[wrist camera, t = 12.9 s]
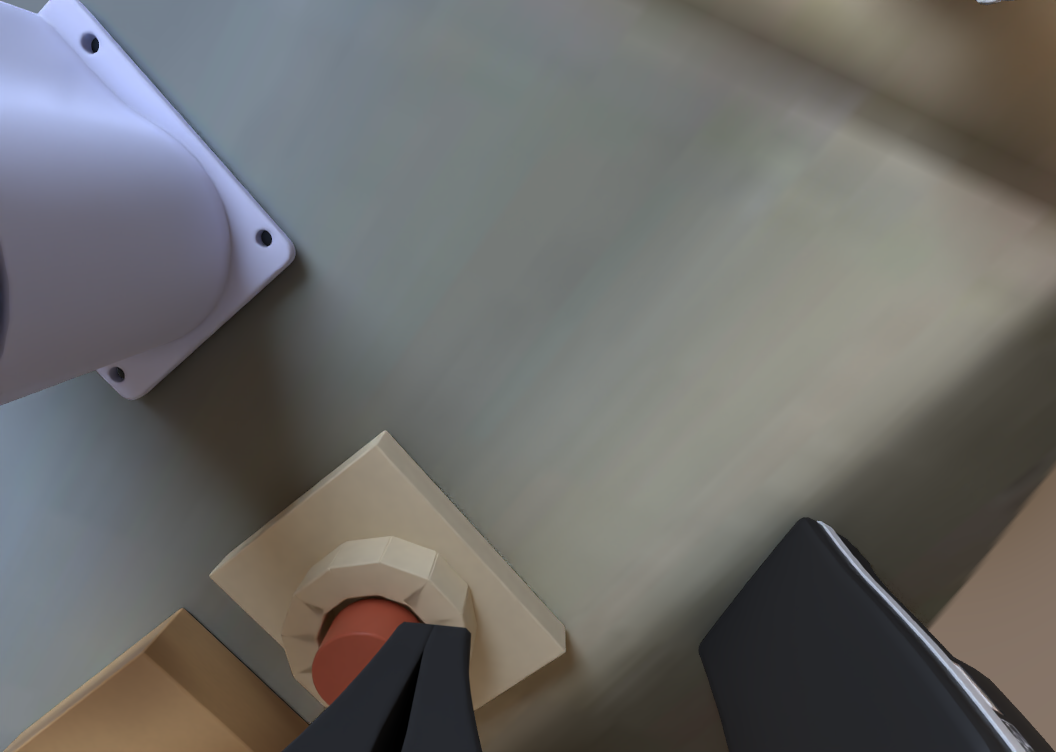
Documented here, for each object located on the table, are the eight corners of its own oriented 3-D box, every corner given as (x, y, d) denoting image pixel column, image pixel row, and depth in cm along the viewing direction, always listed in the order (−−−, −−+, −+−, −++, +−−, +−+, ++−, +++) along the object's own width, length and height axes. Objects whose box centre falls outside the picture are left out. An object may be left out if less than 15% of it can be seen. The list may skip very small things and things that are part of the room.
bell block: (227, 554, 23) (180, 605, 20) (386, 428, 21) (360, 464, 18) (407, 729, 25) (388, 799, 22) (566, 626, 23) (567, 687, 20)
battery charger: (772, 692, 24) (962, 1120, 13) (688, 648, 23) (809, 1051, 12) (891, 553, 22) (1233, 912, 11) (803, 503, 21) (1065, 823, 10)
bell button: (310, 630, 21) (289, 669, 19) (381, 579, 20) (365, 614, 18) (375, 694, 21) (360, 737, 20) (446, 646, 21) (436, 686, 19)
